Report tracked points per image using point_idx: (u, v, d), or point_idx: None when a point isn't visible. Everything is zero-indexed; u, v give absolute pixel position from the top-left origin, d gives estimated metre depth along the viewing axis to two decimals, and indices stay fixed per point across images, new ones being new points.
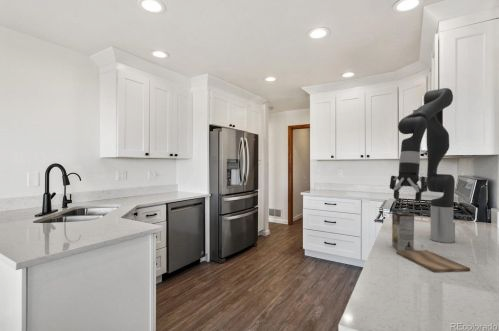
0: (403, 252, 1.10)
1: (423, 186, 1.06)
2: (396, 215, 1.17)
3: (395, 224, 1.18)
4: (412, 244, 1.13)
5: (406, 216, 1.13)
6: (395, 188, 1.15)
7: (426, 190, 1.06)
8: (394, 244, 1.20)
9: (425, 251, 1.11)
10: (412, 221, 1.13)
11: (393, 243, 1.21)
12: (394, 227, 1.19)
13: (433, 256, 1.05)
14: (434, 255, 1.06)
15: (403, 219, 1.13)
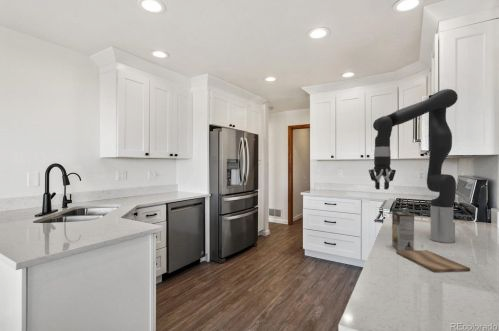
0: (403, 252, 1.10)
1: None
2: (396, 215, 1.17)
3: (395, 224, 1.18)
4: (412, 244, 1.13)
5: (406, 216, 1.13)
6: None
7: (373, 180, 1.33)
8: (394, 244, 1.20)
9: (425, 251, 1.11)
10: (412, 221, 1.13)
11: (393, 243, 1.21)
12: (394, 227, 1.19)
13: (433, 256, 1.05)
14: (434, 255, 1.06)
15: (403, 219, 1.13)
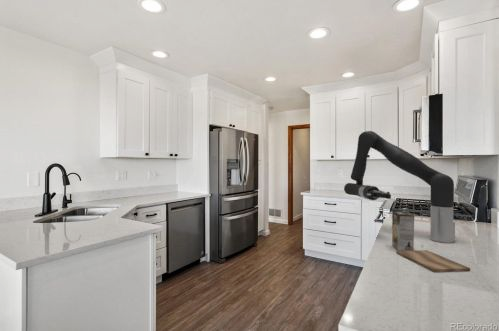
0: (403, 252, 1.10)
1: (375, 197, 1.33)
2: (396, 215, 1.17)
3: (395, 224, 1.18)
4: (412, 244, 1.13)
5: (406, 216, 1.13)
6: (384, 197, 1.32)
7: (378, 193, 1.31)
8: (394, 244, 1.20)
9: (425, 251, 1.11)
10: (412, 221, 1.13)
11: (393, 243, 1.21)
12: (394, 227, 1.19)
13: (433, 256, 1.05)
14: (434, 255, 1.06)
15: (403, 219, 1.13)
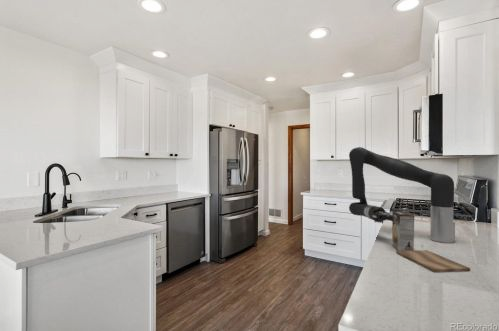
0: (403, 252, 1.10)
1: (381, 219, 1.28)
2: (396, 215, 1.17)
3: (395, 224, 1.18)
4: (412, 244, 1.13)
5: (406, 216, 1.13)
6: None
7: (384, 216, 1.26)
8: (394, 244, 1.20)
9: (425, 251, 1.11)
10: (412, 221, 1.13)
11: (393, 243, 1.20)
12: (394, 227, 1.19)
13: (433, 256, 1.05)
14: (434, 255, 1.06)
15: (403, 219, 1.13)
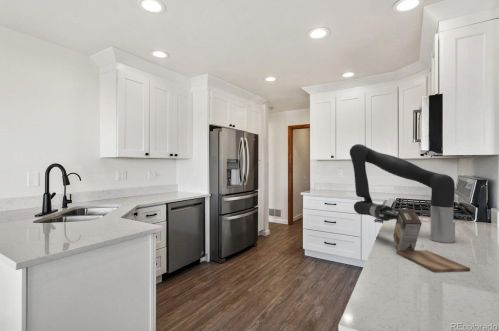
0: (403, 252, 1.10)
1: (388, 218, 1.22)
2: (402, 219, 1.09)
3: (399, 225, 1.13)
4: (414, 246, 1.11)
5: (413, 224, 1.06)
6: None
7: (391, 215, 1.21)
8: (395, 239, 1.18)
9: (425, 251, 1.11)
10: (418, 228, 1.07)
11: (394, 237, 1.19)
12: (398, 227, 1.14)
13: (433, 256, 1.05)
14: (434, 255, 1.06)
15: (409, 226, 1.07)
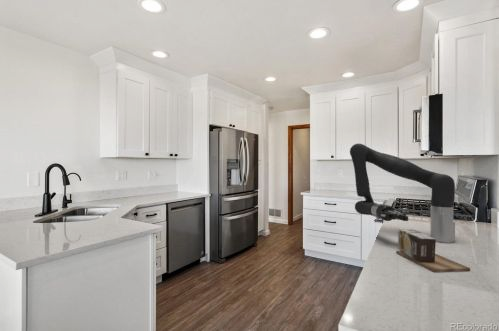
0: (403, 252, 1.10)
1: (390, 218, 1.21)
2: (416, 253, 0.99)
3: (410, 246, 1.04)
4: None
5: (425, 261, 0.99)
6: None
7: (393, 215, 1.19)
8: (399, 236, 1.13)
9: None
10: None
11: (399, 234, 1.13)
12: (408, 243, 1.05)
13: None
14: None
15: None
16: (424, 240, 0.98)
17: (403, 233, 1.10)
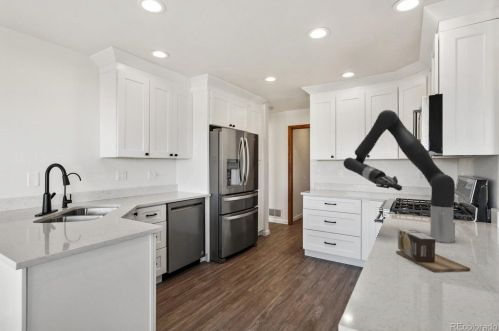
0: (403, 252, 1.10)
1: None
2: (416, 253, 0.99)
3: (410, 246, 1.04)
4: None
5: (425, 261, 0.99)
6: None
7: (388, 185, 1.30)
8: (399, 236, 1.13)
9: None
10: None
11: (399, 234, 1.13)
12: (408, 243, 1.05)
13: None
14: None
15: None
16: (424, 240, 0.98)
17: (403, 233, 1.10)
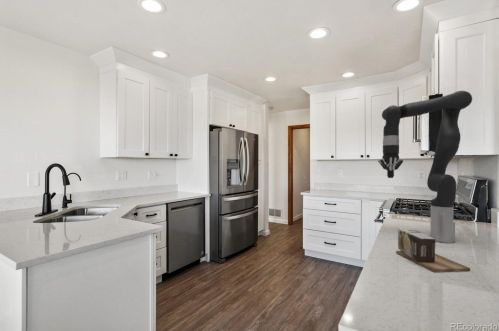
0: (403, 252, 1.10)
1: None
2: (416, 253, 0.99)
3: (410, 246, 1.04)
4: None
5: (425, 261, 0.99)
6: None
7: (386, 169, 1.36)
8: (399, 236, 1.13)
9: None
10: None
11: (399, 234, 1.13)
12: (408, 243, 1.05)
13: None
14: None
15: None
16: (424, 240, 0.98)
17: (403, 233, 1.10)
